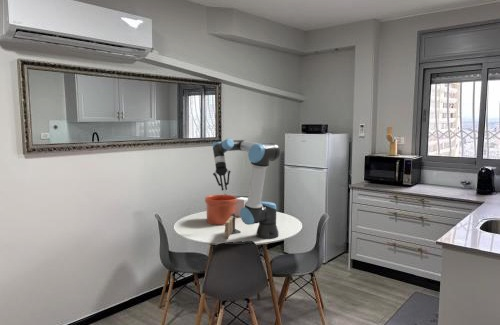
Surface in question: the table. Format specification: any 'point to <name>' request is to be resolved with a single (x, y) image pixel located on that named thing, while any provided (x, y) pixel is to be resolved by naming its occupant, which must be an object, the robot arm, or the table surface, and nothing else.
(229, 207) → the pot
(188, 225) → the table surface
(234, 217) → the gate post
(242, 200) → the supplement box
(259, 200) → the robot arm
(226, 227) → the gate leaf
